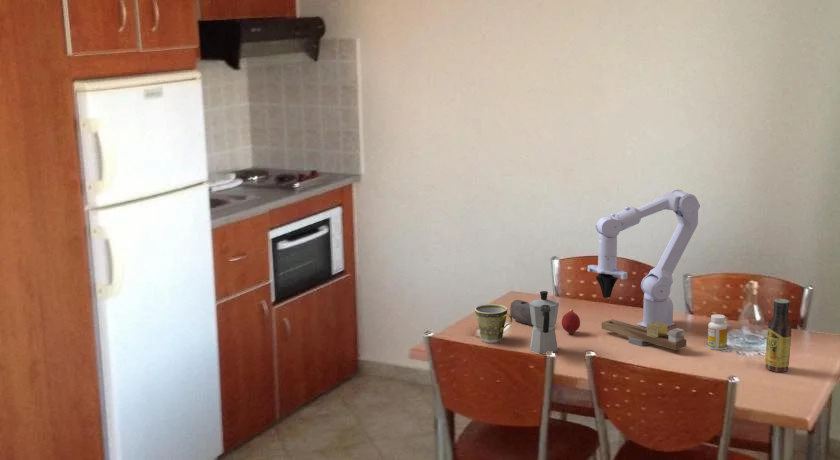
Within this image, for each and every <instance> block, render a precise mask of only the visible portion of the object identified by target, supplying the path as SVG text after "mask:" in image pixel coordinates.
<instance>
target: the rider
mask: <svg viewBox="0 0 840 460" xmlns="http://www.w3.org/2000/svg"><path fill="white" fill-rule="evenodd" d="M667 325H668V324H666V323H662V322H658V321H655V322H652V323H649V324H647V327H646V329H647V334H648V335H651V336H655V337H662V338H663V335H666V334H667V335H668V327H667Z"/></svg>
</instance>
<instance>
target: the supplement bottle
mask: <svg viewBox="0 0 840 460" xmlns="http://www.w3.org/2000/svg"><path fill="white" fill-rule="evenodd" d="M707 328H708V329H707V331H708V332H707V348H709V349H711V350H714V351H723V349H724V350H726V349H727V346H728V344H727V343H728V324H727V322H726V316H725V315H723V314H719V313H718V314H716V313H715V314H711V316H710V322H708V327H707Z"/></svg>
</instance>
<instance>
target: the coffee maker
mask: <svg viewBox="0 0 840 460" xmlns="http://www.w3.org/2000/svg"><path fill="white" fill-rule="evenodd" d="M539 294H540V298H539V299H535V300H532V301H531V302H528V303H529V307H530V314H531V322H532V324H533V326H532V333H531V338H530V339H531V340H530V344H529V345H530V346H529V350H531V351H534V352H537V353H539V354H538V355H544V354H543V353H546V352H547V351H553V352H555V353H558V352H559V349H558V343H557V342H558V341H557V335H556V330H555V326H556V324H557V319H558V313H559V306H560V305H559V303H560V302H557V301H555V299H554V300H553V299H548V295H549V292H548V291H547V290H541V291H539ZM531 351H530V352H531ZM555 353H554V354H555Z"/></svg>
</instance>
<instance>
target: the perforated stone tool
mask: <svg viewBox="0 0 840 460" xmlns="http://www.w3.org/2000/svg"><path fill="white" fill-rule="evenodd" d="M529 303H530V302H528V301H525V300H521V299H515V300H513V301H512V302H511V303H510V308H509V311H510V312H509V315H511V317H512V320H515V321H516V322H519V323H520V324H525V325H528V326H532V327H533V324H532V322H531V314H530V307H529Z"/></svg>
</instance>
